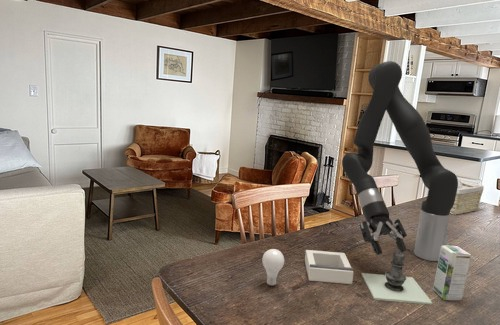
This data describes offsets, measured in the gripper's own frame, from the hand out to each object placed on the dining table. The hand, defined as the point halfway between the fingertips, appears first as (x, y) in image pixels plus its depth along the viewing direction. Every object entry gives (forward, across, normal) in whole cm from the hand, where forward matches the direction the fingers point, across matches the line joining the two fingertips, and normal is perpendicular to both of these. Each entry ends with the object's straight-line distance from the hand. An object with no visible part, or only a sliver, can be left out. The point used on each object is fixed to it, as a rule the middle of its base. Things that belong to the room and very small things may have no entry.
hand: (391, 253), depth 106 cm
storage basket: (-35, +91, +50) cm, 110 cm away
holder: (0, -16, +14) cm, 21 cm away
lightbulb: (+3, -36, +11) cm, 38 cm away
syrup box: (+14, +14, 0) cm, 19 cm away
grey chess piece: (+9, 0, +4) cm, 10 cm away
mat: (+9, 0, +4) cm, 10 cm away
